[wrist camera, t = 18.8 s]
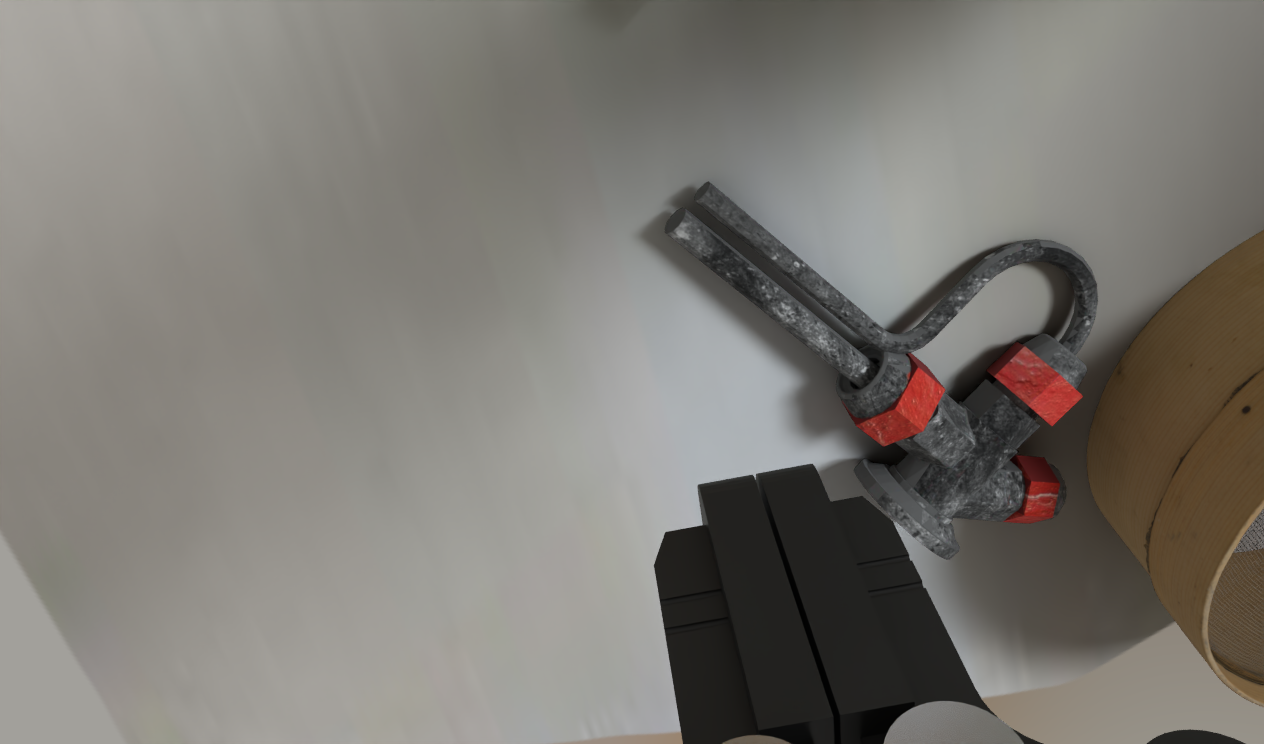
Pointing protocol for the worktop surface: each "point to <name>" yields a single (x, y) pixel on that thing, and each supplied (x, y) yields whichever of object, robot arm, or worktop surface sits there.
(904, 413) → the valve
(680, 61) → the worktop surface
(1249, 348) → the steamer basket
